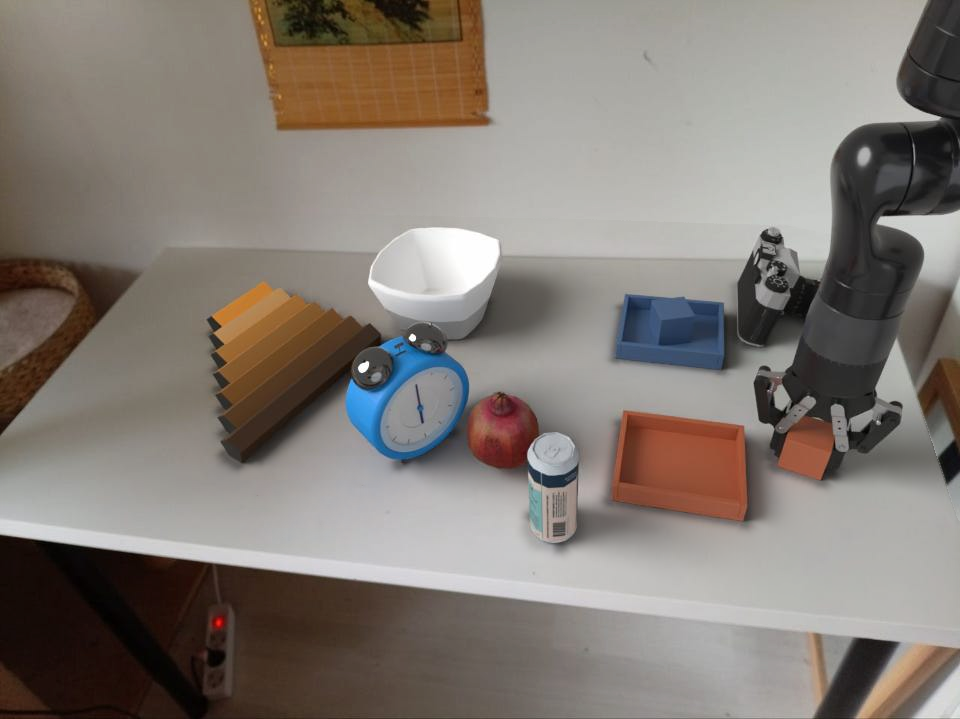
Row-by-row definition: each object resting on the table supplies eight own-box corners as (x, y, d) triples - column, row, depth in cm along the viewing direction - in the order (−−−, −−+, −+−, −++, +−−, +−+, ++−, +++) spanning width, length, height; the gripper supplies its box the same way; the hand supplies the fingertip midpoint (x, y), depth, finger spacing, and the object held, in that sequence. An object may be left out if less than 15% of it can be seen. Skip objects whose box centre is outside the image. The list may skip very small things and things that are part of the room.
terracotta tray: (740, 440, 77) (744, 425, 75) (743, 521, 69) (747, 506, 67) (621, 424, 80) (623, 409, 78) (611, 500, 72) (612, 485, 70)
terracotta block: (827, 452, 75) (838, 424, 72) (820, 480, 72) (831, 453, 69) (785, 439, 77) (794, 411, 74) (776, 466, 74) (785, 439, 71)
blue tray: (720, 316, 94) (723, 302, 92) (721, 370, 86) (724, 355, 84) (623, 307, 97) (625, 293, 95) (615, 358, 89) (616, 343, 87)
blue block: (680, 322, 93) (684, 296, 90) (690, 342, 90) (695, 315, 87) (648, 326, 93) (651, 299, 90) (657, 346, 89) (661, 319, 87)
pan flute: (245, 465, 79) (383, 346, 94) (236, 445, 77) (379, 326, 92) (121, 391, 91) (262, 295, 106) (110, 372, 89) (256, 277, 104)
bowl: (413, 272, 108) (404, 220, 102) (519, 288, 103) (517, 234, 96) (360, 341, 96) (347, 285, 89) (479, 363, 90) (473, 306, 84)
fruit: (544, 434, 80) (543, 371, 73) (535, 489, 74) (533, 425, 67) (476, 429, 81) (469, 366, 75) (463, 482, 75) (454, 418, 69)
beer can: (585, 519, 70) (589, 440, 63) (562, 553, 67) (563, 475, 60) (544, 500, 73) (543, 421, 65) (521, 532, 70) (517, 454, 62)
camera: (813, 361, 88) (851, 300, 81) (729, 339, 89) (759, 278, 82) (804, 295, 98) (836, 237, 91) (729, 277, 100) (755, 218, 93)
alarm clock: (384, 482, 76) (358, 383, 66) (355, 451, 80) (328, 354, 70) (475, 424, 82) (464, 326, 72) (445, 398, 86) (431, 301, 76)
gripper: (757, 339, 64) (727, 460, 75) (932, 383, 58) (871, 507, 69) (775, 296, 68) (744, 415, 79) (937, 333, 62) (879, 456, 74)
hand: (803, 457), depth 74 cm, fingers closed on terracotta block, 4 cm apart
